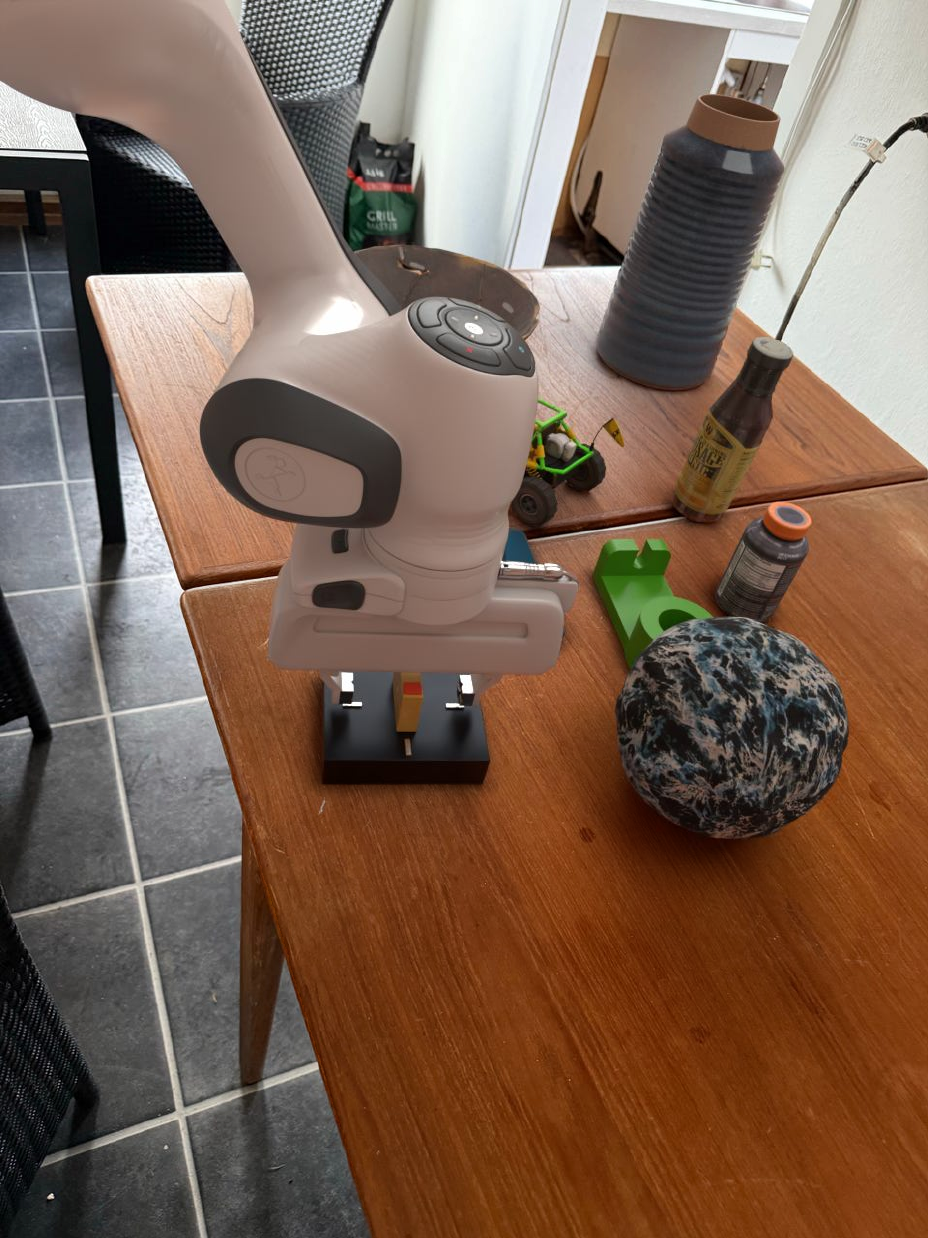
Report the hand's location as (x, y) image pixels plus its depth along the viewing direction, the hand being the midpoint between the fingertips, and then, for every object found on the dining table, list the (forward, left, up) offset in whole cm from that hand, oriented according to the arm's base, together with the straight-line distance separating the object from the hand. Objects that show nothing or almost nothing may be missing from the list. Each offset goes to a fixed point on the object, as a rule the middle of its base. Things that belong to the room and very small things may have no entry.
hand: (405, 698), depth 66 cm
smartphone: (+11, +17, -4) cm, 21 cm away
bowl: (+7, +57, -4) cm, 58 cm away
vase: (+39, +64, -4) cm, 75 cm away
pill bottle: (+35, +16, -4) cm, 39 cm away
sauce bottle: (+35, +31, -4) cm, 47 cm away
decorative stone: (+23, -5, -4) cm, 24 cm away
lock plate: (0, 0, -4) cm, 4 cm away
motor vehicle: (+14, +35, -4) cm, 38 cm away
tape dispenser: (+24, +12, -4) cm, 27 cm away
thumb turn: (0, 0, -1) cm, 1 cm away
